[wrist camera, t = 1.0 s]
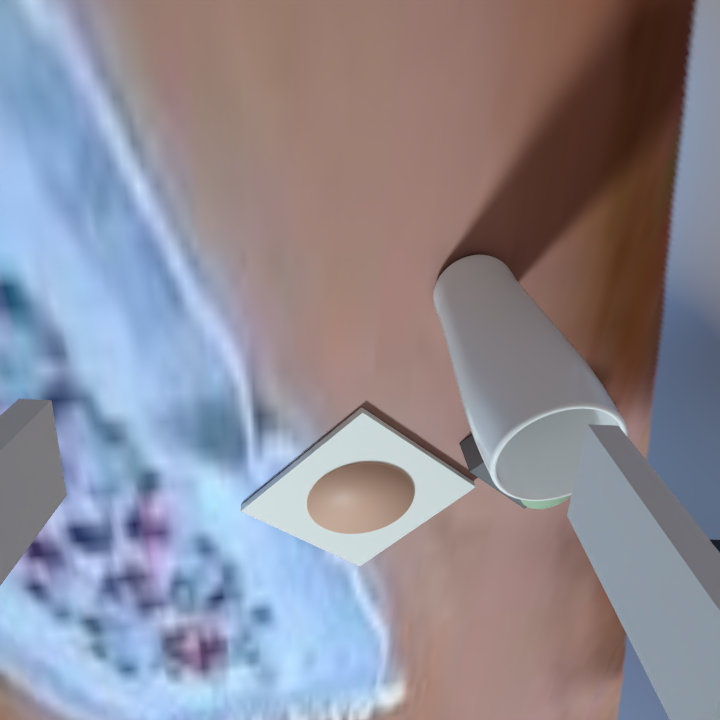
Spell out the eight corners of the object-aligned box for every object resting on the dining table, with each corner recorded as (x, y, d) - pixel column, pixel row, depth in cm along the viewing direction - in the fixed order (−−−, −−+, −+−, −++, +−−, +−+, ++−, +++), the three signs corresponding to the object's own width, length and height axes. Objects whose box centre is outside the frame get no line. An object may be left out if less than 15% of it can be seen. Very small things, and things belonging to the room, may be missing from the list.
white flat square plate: (240, 505, 51) (240, 513, 50) (361, 406, 46) (363, 414, 45) (358, 560, 58) (359, 568, 57) (473, 481, 53) (476, 488, 52)
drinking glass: (399, 287, 39) (460, 462, 28) (485, 219, 37) (591, 378, 26) (458, 345, 43) (534, 521, 32) (539, 286, 41) (653, 451, 29)
